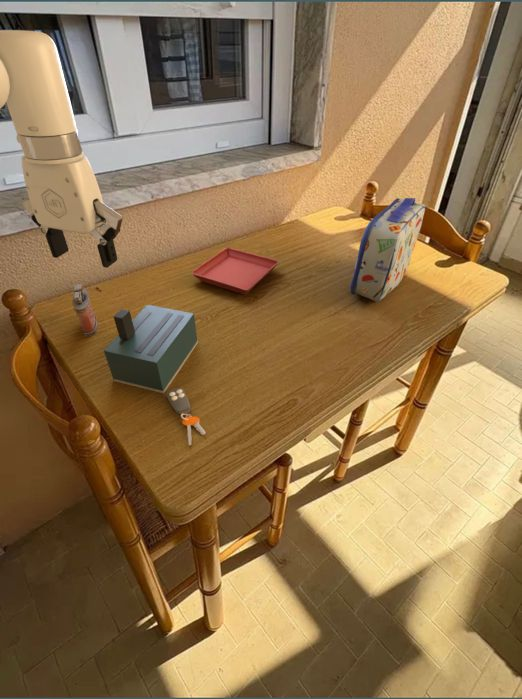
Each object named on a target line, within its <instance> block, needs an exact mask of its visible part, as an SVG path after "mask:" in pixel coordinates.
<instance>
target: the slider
mask: <svg viewBox="0 0 522 699" xmlns="http://www.w3.org/2000/svg"><path fill="white" fill-rule="evenodd" d="M131 314H132V313H131V311H130V310H128V309H123V308H121V309H119V311H118V312H116V313H115V315H113V319H114V324H115V327H116V330H117V333H118V335H119V337H120V339H124V340H129V339H130V338H131V337H132V336H133V334H134V333H135V330H134V326H133V322H132V320H133V318H132V315H131Z"/></svg>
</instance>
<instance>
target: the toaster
mask: <svg viewBox="0 0 522 699" xmlns="http://www.w3.org/2000/svg"><path fill="white" fill-rule="evenodd" d="M132 322H133V326H134V330H135V333H134V334H133V336H132V337H131V338H130V339H129V340H124V339H120V337H119V334H118V335H117V336H116V337H115V338H114V339H113V340H112V341H111V342H110V343H109V344H108V345H107V346H106V347H105V348H104V349H103V353H104V356H105V359H106V362H107V364H108V368H109V371H110V374H111V377H112V381H113V382H116V383H119V384H124V385H128V386H131V387H134V388H135V387H136V388H140V389H143V390H148V391H151V392H156V393H159V394H163V395H164V394H166V391H167V390H168V388H169V387H170V385H171V384H172V382H173V381H174V379H175V378H176V376H178V374H179V372H180V370H181V369H182V367H183V366H184V365H185V363H186V362H187V360H188V358H189V357H190V356H191V355H192V353H193V351H194V349H195V348H196V347H197V346H198V344H199V340H198V334H197V327H196V319H195V313H193V312H188V311H182V310H178V309H173V308H167V307H162V306H156V305H151V304H146V305H145V306H144V307H143V308H142V309H141V310H140V311H139V312H138V313H137V315H135V317H133V318H132Z"/></svg>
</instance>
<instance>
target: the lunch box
mask: <svg viewBox="0 0 522 699" xmlns="http://www.w3.org/2000/svg"><path fill="white" fill-rule="evenodd" d="M425 212H426V204H424V203H420V202H419V203H418V202H416V198H415V197H405V198H398V197H397V198H394V200H393V201H392V202H391V203H390V204H389V205H388V206H387V207H385V208H384V209H383V210H382V211H381V212H379V213H378V214H376V216H374V217H373V218H372V219H371V220H370V221H369V222H368V224H367V225H366V227H365V230H364V232H363V234H362V237H361V239H360V243H359V248H358V252H357V258H356V261H355V266H354V270H353V275H352V279H351V283H350V287H349V291H350V294H352V295H356V294H357V295H359V296H361V297H364V298H367V299H369V300H371V301H372V302H373V301H374V302H375V303H379V302H381V301H382V300H383V299H384V298H386V297H387V296H388V295H389V294H390V293H391V292H392V291H393V290H395V289H396V288H397V287H398V286H399V284H400V283H401V281H402V280H403V278H404V277H405V275H406V274H407V271H408V269H409V265H410V262H411V258H412V254H413V252H414V249H415V246H416V243H417V240H418V238H419V235H420V231H421V229H422V224H423V219H424V215H425Z"/></svg>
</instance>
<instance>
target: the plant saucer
mask: <svg viewBox="0 0 522 699" xmlns="http://www.w3.org/2000/svg"><path fill="white" fill-rule="evenodd" d="M279 263H280V262H279V260H277V259H274V258H269V257H267V256H264V255H263V256H262V255H258V254H255V253H251V252H247V251H243V250H240V249H236V248H232V247H225V248H223V249H222V250H220V251H219V252H218V253H216V254H214V255H213V256H212V257H210V258H208V260H206V261H204V263H201V264H200V265H199V266H197V267H196V268H194V269H193V270H192V271H191V274H192V276H194V277H195V278H196V279H198V280H199V281H201V282H203V283H206V284H209V285H212V286H216V287H219V288H222V289H225V290H228V291H231V292H235V293H237V294H241V295H247V294H248V293H249V292H250V291H251V290H252V289H253V288H254V287H255V286H257V284H259V283H260V282H261V281H262V280H263V279H265V278H266V277H267V276H268V275H269V274H270V273H271V272H272V271H273V270H274V269H275V268H276V267H277V266H278V265H279Z"/></svg>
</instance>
